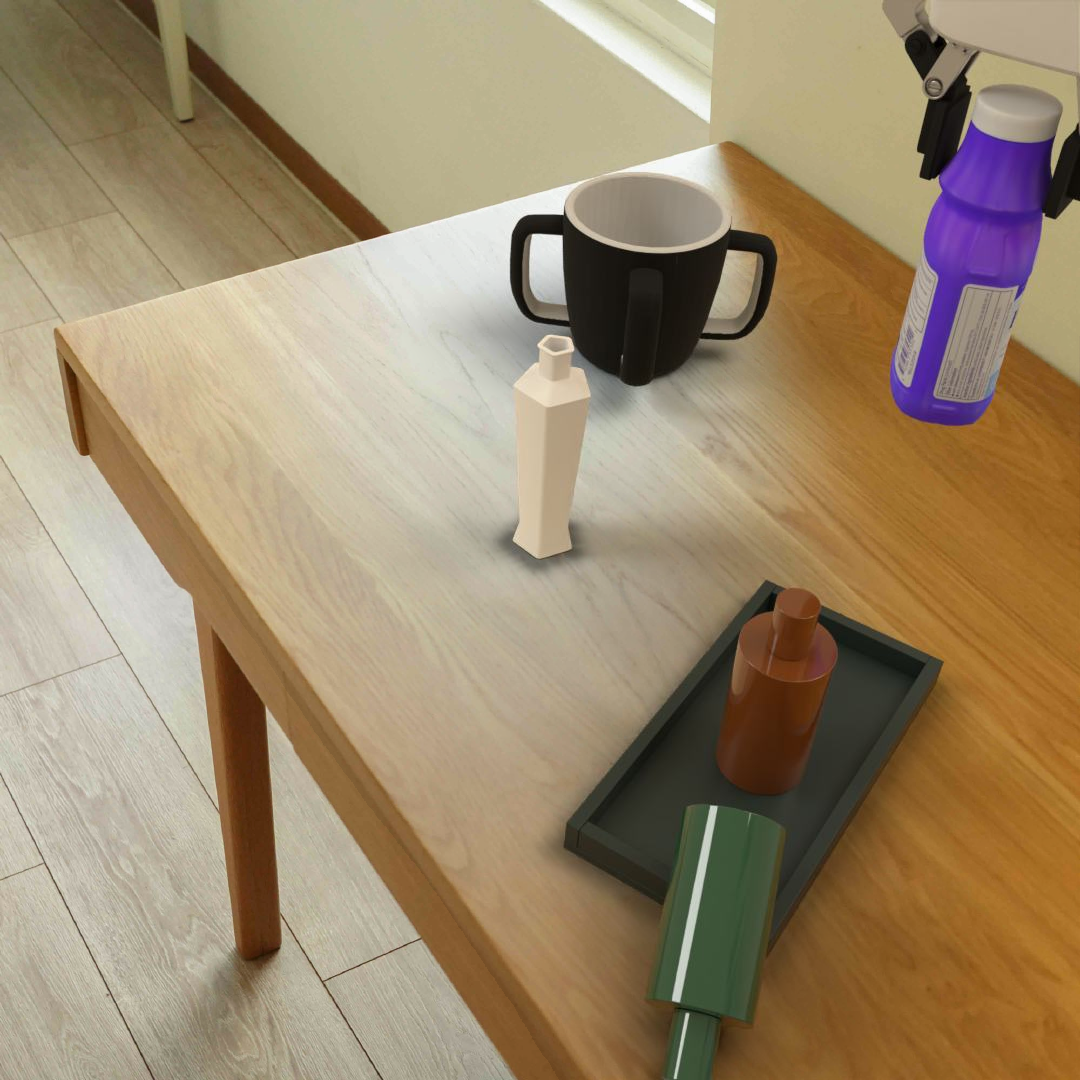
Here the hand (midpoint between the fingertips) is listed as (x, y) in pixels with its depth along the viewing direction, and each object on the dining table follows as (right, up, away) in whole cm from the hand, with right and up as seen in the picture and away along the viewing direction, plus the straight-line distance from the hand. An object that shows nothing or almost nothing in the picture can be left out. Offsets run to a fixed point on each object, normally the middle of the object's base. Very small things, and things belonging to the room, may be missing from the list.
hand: (996, 185), depth 67 cm
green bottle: (-13, -31, -3) cm, 34 cm away
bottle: (-1, -10, +9) cm, 13 cm away
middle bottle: (-11, -30, +7) cm, 32 cm away
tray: (-10, -30, +7) cm, 33 cm away
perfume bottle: (-23, -18, +21) cm, 35 cm away
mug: (-16, -3, +38) cm, 41 cm away
